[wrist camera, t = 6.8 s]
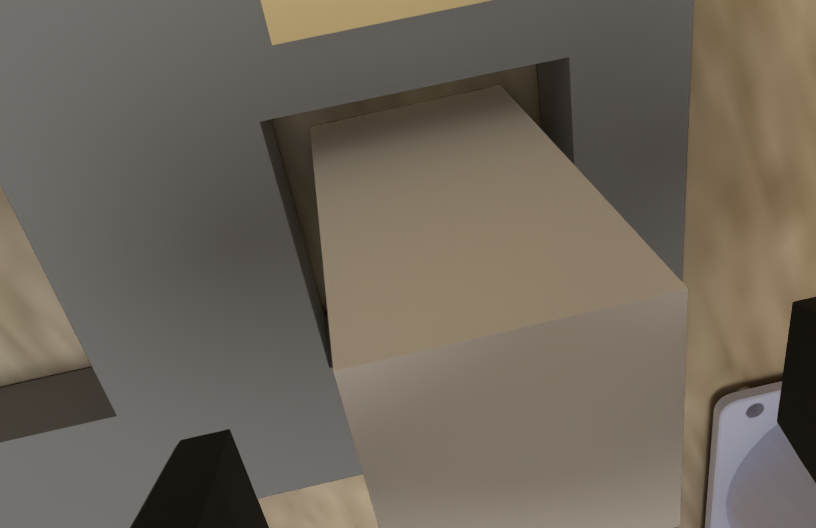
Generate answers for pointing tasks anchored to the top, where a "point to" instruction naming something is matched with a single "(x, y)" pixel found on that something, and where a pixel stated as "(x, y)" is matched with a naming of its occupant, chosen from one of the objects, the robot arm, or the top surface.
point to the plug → (496, 325)
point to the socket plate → (259, 208)
